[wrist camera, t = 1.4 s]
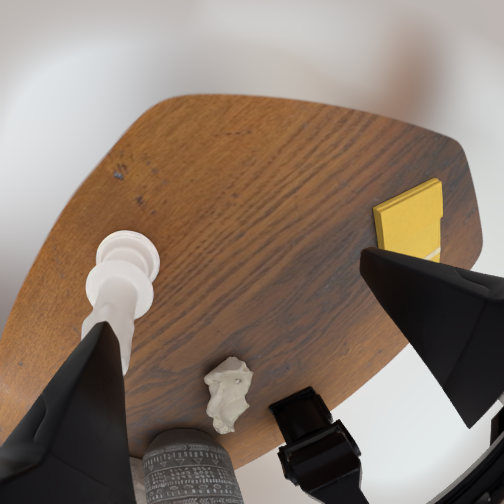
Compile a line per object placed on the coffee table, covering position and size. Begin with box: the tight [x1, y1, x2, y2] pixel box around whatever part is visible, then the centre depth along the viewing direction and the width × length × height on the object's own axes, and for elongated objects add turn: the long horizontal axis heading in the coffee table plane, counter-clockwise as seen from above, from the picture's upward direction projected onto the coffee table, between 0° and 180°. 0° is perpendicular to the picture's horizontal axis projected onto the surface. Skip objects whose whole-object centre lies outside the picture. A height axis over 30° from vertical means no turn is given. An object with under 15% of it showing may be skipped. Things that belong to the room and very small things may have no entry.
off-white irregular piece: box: [204, 357, 253, 434], centre depth 27 cm, size 6×10×4 cm, turn 0°
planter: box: [142, 429, 244, 504], centre depth 27 cm, size 12×12×13 cm
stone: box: [130, 457, 147, 504], centre depth 25 cm, size 10×4×15 cm, turn 63°
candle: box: [80, 230, 160, 376], centre depth 16 cm, size 5×5×12 cm
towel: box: [373, 178, 443, 263], centre depth 28 cm, size 10×12×1 cm
